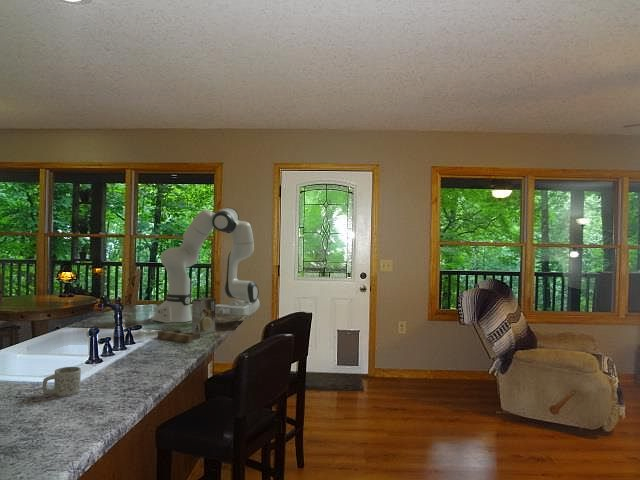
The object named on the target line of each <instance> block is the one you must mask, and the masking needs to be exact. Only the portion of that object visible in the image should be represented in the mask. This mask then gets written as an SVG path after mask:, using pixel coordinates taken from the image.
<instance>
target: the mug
mask: <svg viewBox="0 0 640 480" xmlns="http://www.w3.org/2000/svg"><path fill="white" fill-rule="evenodd" d="M81 372H82V369H81V367H79V366H65V367H60V368H56V369H55V370H54V374H51V375H49V376H46V377H44V378H43V379H42V387H41V388H42V393H43V395H54V396H56V397H59V398H61V397H63V398H64V397H72V396H75V395H78V394H79V393H81ZM50 380H53V381H54V383H53V384H54V385H53V386H54V388H53V389H49V390H48V389H47V385H48V382H49V381H50Z"/></svg>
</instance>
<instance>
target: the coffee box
mask: <svg viewBox="0 0 640 480" xmlns="http://www.w3.org/2000/svg"><path fill="white" fill-rule="evenodd" d="M191 301H192V302H191V316H192V320H191V334H197V333H199V334H200V336H201V335H207V334H212V333H216V313H215V305H217V304H216V302H217V301H216V298H212V297H202V298H191Z"/></svg>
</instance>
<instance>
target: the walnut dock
mask: <svg viewBox="0 0 640 480" xmlns="http://www.w3.org/2000/svg"><path fill="white" fill-rule="evenodd" d="M200 338H201V335H200V334H199V333H197V334H194V333H192V334H186V333H181V330H174V331H168V330H158V331H157V339H162V340H168V341H174V342H181V343H187V344H190V343H193V341H194V340H199V339H200Z"/></svg>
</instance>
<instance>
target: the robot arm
mask: <svg viewBox="0 0 640 480" xmlns="http://www.w3.org/2000/svg"><path fill="white" fill-rule="evenodd" d="M239 219H240V217H239V213H238V211H237V210H236V209H234V208H232V207H223V208H222V209H220V210H218V211H216V212H213V211H211V210H210V209H202V210H200V212H199V213H198V214H197V215H196V216H195V217H194V218H193V219H192V221H191V222H190V224H189V225H188V226H187V228H186V229H185V231H184V232H183V235H182V239H183V240H182V242H181V245H179V246H178V247H170V248H167V249H165V250H163V251H162V252H161V255H160V262H161V265H163V266H164V269H165V270H166V275H167V278H168V291H167V292H168V293H167V294H164V298H165V300H164V301H163V302H162V303H161V304H159V305H158V306H157V307H156V308H155V313H154V316H153V315H152V316H150V320H152V321H156V322H161V323H166V324H168V323H171V324H173V323H186V322H192V308H191V301H192V295H191V278H190V277H189V276H188V273H187V270H186V268H190V267H192V266H194V265H196V264H197V263H198V261H199V253H200V250H201V247H202V245H203V244H204V243H205V241H206V240H207V238H208V236H209V235H210V234H211V232H212V231H213V230H214V229H215V230H217V231H218V232H220V233H221V232H222V233H226V234H231V240H232V249H231V251H230V252H229V253H228V257H227V264H226V265H227V268H226V279H225V280H226V281H225V284H224V291H225V294H226V296H227V297H228V298H230V299H233V300H231V301H230V302H229V304H227V303H226V304H225V303H219V304H215V314H227V315H229V314H230V316H233V317H235V318H237V317H243V316H245V317H246V316H252V314H253V313H255V312H257V311H258V310H259V308H260V305H261V302H260V300H259V298H258V297H259V287H258V285H257V283H256V282H255V281H253V280H241V279H238V276H237V275H238V266H239V263H240V262H241V261H243V260H246V259H248V258H250V257H251V256H252V254H253V253H254V251H255V243H254V242H255V241H254V234H253V233H254V232H253V229H252V226H251V224H250V223H249V222H248V221H246V220H239Z"/></svg>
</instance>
